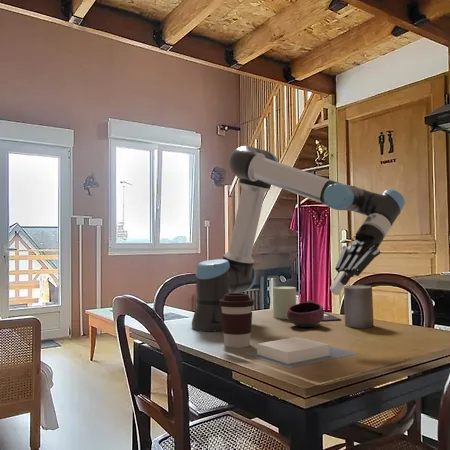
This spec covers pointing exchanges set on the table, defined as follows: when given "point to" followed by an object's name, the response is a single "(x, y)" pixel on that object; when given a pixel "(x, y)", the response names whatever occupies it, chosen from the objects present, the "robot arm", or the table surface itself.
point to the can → (283, 301)
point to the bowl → (306, 314)
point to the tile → (292, 350)
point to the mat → (333, 354)
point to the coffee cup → (236, 319)
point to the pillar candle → (358, 306)
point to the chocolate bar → (330, 318)
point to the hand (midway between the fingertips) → (333, 291)
